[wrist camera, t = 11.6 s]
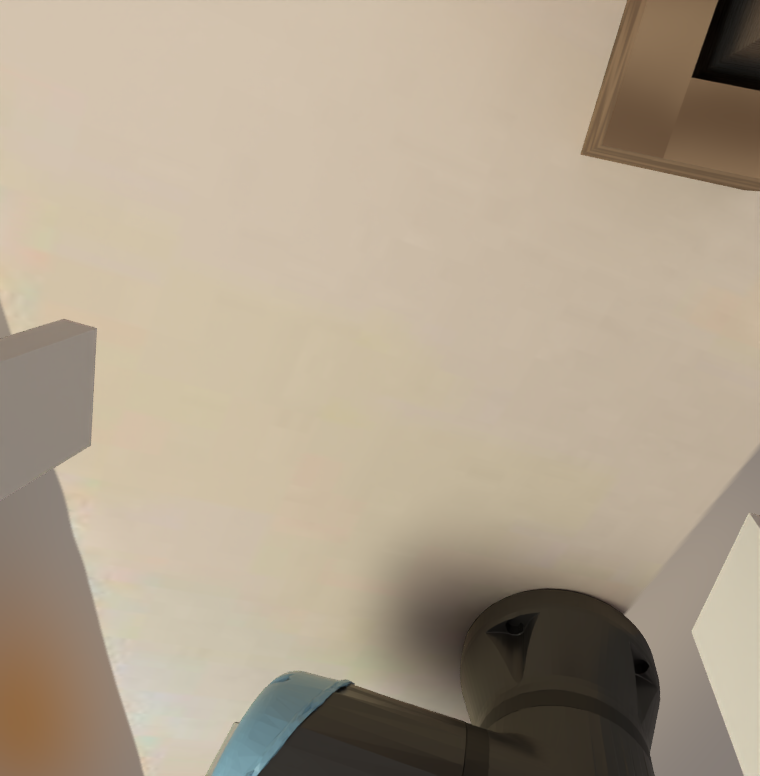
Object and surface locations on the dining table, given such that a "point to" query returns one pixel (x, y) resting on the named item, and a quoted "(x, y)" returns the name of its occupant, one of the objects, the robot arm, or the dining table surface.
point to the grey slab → (732, 45)
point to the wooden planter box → (673, 101)
